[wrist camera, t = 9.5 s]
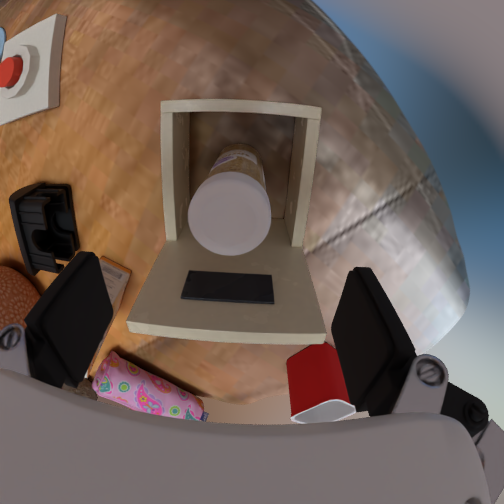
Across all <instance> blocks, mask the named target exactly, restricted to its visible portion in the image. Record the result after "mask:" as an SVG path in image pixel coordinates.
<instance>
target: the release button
mask: <svg viewBox="0 0 504 504" xmlns="http://www.w3.org/2000/svg"><path fill="white" fill-rule="evenodd" d="M22 71H23V60H22V58H21V57H8V58H6V59H5V60H4V61H3V62H2V63H1V65H0V87H1V88H3V87H9V86H13V85H15V84H16V83H17V82H18V81H19V79H20V76H21V74H22Z"/></svg>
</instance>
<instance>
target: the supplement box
mask: <svg viewBox="0 0 504 504" xmlns="http://www.w3.org/2000/svg"><path fill="white" fill-rule="evenodd" d="M99 262H100V266H101V270H102V273H103V277H104V280H105V284H106V287H107V291H108V294H109V297H110V301H111V304H112V307H113V311H114V314H113V318H112V320H111V322H110V324H109V326H108V328H107V330H106V332H105V334H104V336H103V338H102V340H101V342H100V344H99V346H98V348H97V351H96V353H95V355H94V357H93V359H92V361H91V364H90V366H89V368H88V370H87V373H86V375H85V377H84V378H88V376H89V373H90V371H91V369H92V366H93V364H94V362H95V359H96V357H97V355H98V353H99V350H100V348H101V346H102V344H103V342H104V339H105V337H106V335H107V333H108V331H109V329H110V327H111V325H112V323H113V320H114V319H115V316H116V314H117V312H118V310H119V308H120V304H121V301H122V297H123V293H124V290H125V287H126V284H127V282H128V279H129V276H130V274H131V271H130V270H129V269H126V268H125V267H122V266H121V265H119V264H117V263H115V262H113V261H111V260H109V259H107V258H105V257H103V256H102V257H101V258H100V260H99Z"/></svg>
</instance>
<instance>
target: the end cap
mask: <svg viewBox="0 0 504 504" xmlns="http://www.w3.org/2000/svg"><path fill="white" fill-rule="evenodd" d="M9 204H10V209H11V214H12V219H13V223H14V227H15V231H16V235H17V239H18V243H19V247H20V250H21V253H22V257H23V260H24V263H25V266H26V269H27V271H28V273H29V274H31V275H33V276H35V275H36V274H37V273H38V272H39V271H40V270H44V271H48V272H53V273H58V274H59V273H60V272H61V271H62V270H63V269H64V265H63V264H58V263H56V260H55V259H58V260H63V261H69V262H70V261H71V259H72V258H73V257H74V256H75V251H77V250H78V249H79V240H78V235H77V229H76V223H75V217H74V210H73V202H72V194H71V187H70V186H69V185H68V184H46V185H45V183H37V184H32V185H29V186H26V187H23V188H21V189H19V190H17V191H16V192H14V193H13V194H12V195H11V196H10V198H9Z"/></svg>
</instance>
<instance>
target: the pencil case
mask: <svg viewBox="0 0 504 504" xmlns="http://www.w3.org/2000/svg"><path fill="white" fill-rule="evenodd" d="M92 388H93V389H94V391H95V392H96V393H97V394H98V395H99V396H101V397H104V398H107V399H111V400H113V401H115V402H118V403H120V404H122V405H124V406H127V407H129V408H130V409H132V410H136V411H140V412H145V413H150V414H155V415H161V416H167V417H173V418H180V419H187V420H196V421H200V420H202V421H205V422H206V419H207V417H208V415H209V414H208V413H206V412H204V405H203V402H202V400H201V399H200V398H198V397H196V396H195V395H193V394H191V393H189V392H187V391H184V390H182V389H180V388H179V387H177V386H175V385H174V384H172V383H170V382H168V381H166V380H164V379H162V378H160V377H158V376H156V375H153V374H151V373H149V372H147V371H145V370H143V369H141V368H139V367H137V366H136V365H134V364H133V363H130V362H128V361H126V360H124V359H122V358H120V357H119V356H118V355H117V354H116V353H115V352H114V351H111V353H110V354H109V356H108V357H107V358H106V359H104V360H103V361H102V363H101V364H100V366H99V368H98V370H97V372H96V375H95V377H94V379H93V382H92Z"/></svg>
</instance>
